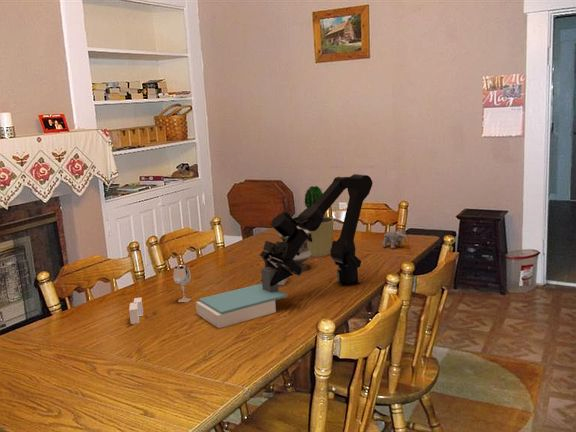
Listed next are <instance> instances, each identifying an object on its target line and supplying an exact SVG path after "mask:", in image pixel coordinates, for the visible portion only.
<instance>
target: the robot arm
mask: <svg viewBox="0 0 576 432" xmlns="http://www.w3.org/2000/svg"><path fill="white" fill-rule="evenodd" d="M372 187H373V180H372V178H371V177H370V175H367V174H360V173H359V174H358V173H356V174H355V173H353V174H352V175H351V176H336V177H334V179H333V181H332V183H331V184H330V185H329V186H328V187H327V188H326V189H325V190H324V192H322V193H323V194H322V195H321V197H320V198H319V199H318V200H317V201H316V202H315V204H313V205H312V206H311V207H309V208H307V207H306V208H307V209H306V208H305V209H304V210H303V211H302V212H300V213H299V214H298V216H295V217H292V216H291V215H290V213H288V212H287V211H284V210H283V211H282V212H281V213H280V214H278V215H276V216H275V217H274V218H272V221H271V223H270V226H271V228H272V229H274V230H275V231H276V232H277V233H278V235H279V234H281V235H282V236H283V237H287V236H288V237H287V239H286V240H285V242H283V241H276V242H271V241H268V240H265V242H264V243H263V244H264V245H263V247H262V251H261V253H260V254H259V257H260V258H261V259H263V262H264V268H266V267H271V268H273V269H276V270H277V271H276V273H275V275H274V277H273V278H272V280H271V282H270V284H269V285H270V286H271V287H272V286H274V285H276V284H277V283H279V282H281V281H282V280H284V279H286V278H288V277H289V278H290V277H293V276H294V275H295V276H298V277H301V274H302V273H303V272H304V271H302V267H301V266H300V265H299V264H298V263H296V262H295V261H294V260H293V259H294V258H295V256H296V255H297V256H299V255H300V253H299V250H300V249H301V247H302V246H303V244H304V243H305V241H309V242H312V237H311V234H310V233H306V232H305V231H304V230H303V229H305V230H309V231H316V230H317V229H318V228H319V226H320V225H321V223H322V221H323V218H324V217H325V215H326V213H327V211H328V210H329V209H330V208H331V207H332V205H333V204H334V203H335V202H336V201H337V200H338V198H339V197H340V196H341V195H342V193H344V191H345V190H346V189H347V193H348V202H347V206H346V212H345V215H344V219H343V224H342V228H341V231H340V234H339V235H340V236H339V238H338V239H337V240H332V246H331V250H330V252H331V253H330V258H331V259H332V260H333V262H334V264H335V265H336V266H337V267H338V268H337V270H336V277H337V278H336V280H337V281H336V282H338V283H339V284H340V285H341V286H342V287H345V286H352V285H359V284H361V282H360V281H359V277H358V276H359V274H358V273H359V271H358V270H359V269H358V268H361V266H362V260H361V259H359V257H357V256H356V245H355V237H356V236H355V235H356V232H357V227H358V224H359V221H360V215H361V211H362V207H363V204H364V201H365V199H366V198H367V197H368V196H369V195H370V192H371V190H372ZM297 226H298V227H300V228H301V229H298V228H297ZM276 266H277V267H276ZM293 271H294V272H293ZM260 281H261V283H262V278H261V280H260Z"/></svg>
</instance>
